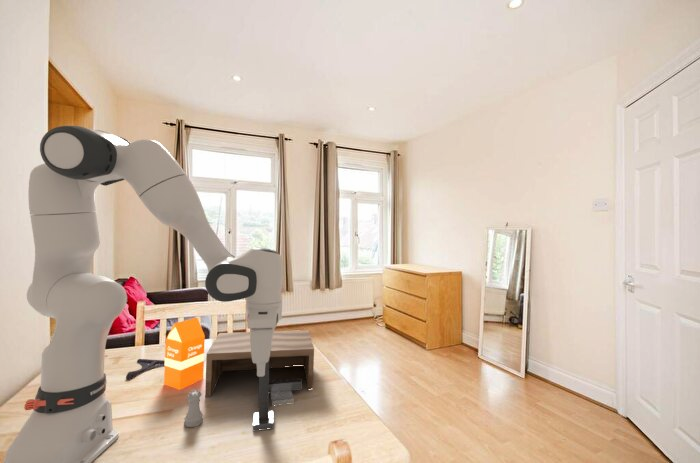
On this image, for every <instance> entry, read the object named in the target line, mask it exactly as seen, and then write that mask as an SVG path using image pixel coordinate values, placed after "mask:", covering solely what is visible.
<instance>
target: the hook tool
mask: <svg viewBox="0 0 700 463" xmlns="http://www.w3.org/2000/svg"><path fill="white" fill-rule="evenodd" d="M302 382H303V381H302V378H301V377H299V378H298V377H297V378H288V379H279V380H270V368H269V361H268V362H267V363H266V365H265V375H264V376H262V377H258V411H257V412H253V420H252V431H253V430H259V429H267V428H272V427H273V428H274V424H275V423H274V410H269V403H270V402H269V401H270V400H269V399H270V394H271V392H280V391H290V390H291V391H297V390H302V387H303V386H302V384H303V383H302ZM269 393H270V394H269Z"/></svg>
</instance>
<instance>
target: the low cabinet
mask: <svg viewBox="0 0 700 463" xmlns="http://www.w3.org/2000/svg"><path fill="white" fill-rule="evenodd" d="M314 358H315V347H314V344H313V340H312V336H311V334H310V330H308V329H305V330H304V329H303V330H278V331H277V330H274V332H273V338H272V345H271V352H270V357H269V369H272V368H271V367H284V368H286V367H285V366H293V365H304V366H303V368H304V367H305V369H304V373H306V375H305V380H306V379H307V380H306V385H308V386H307V390H308V389H311V388H313V389H314V366H315V365H314V364H315V359H314ZM205 364H206V365H205V390H204V392H205V393H204V397H205V398H211V397H212V395H213V393H214V391H215V387H216V385H217V383H218V380H219V378H220V376H221V373H222V372H225V371H226V372H227V371H228V372H229V371H243V370H244V371H246V370H248V371H249V370H257V365H256V363H253V362H252V357H251V343H250V331H246V332H245V331H244V332H243V331H242V332H219V333H218V334H217V336H216V338H215V339H214V341H213V343H211V346H210V347H209V349H208V351H207V352H206V363H205Z"/></svg>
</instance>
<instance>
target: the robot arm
mask: <svg viewBox="0 0 700 463" xmlns="http://www.w3.org/2000/svg"><path fill="white" fill-rule="evenodd" d="M39 152H40V157H41V159H42V160H43V162H44V163H41V164H39V165H37V166H35V167H33V169H32V170H31V171H30V174H29V180H28V210H29V215H30V217H29V218H30V223H31V231H32V234H33V235H32V236H33V243H34V264H33V265H34V266H33V271H32V272H33V273H32V282H31V283H30V285H28V288H27V291H26V300H27V302H28V304H29V306H30V307H31V308H32V309H34V310H35V312H37V313H39V314H40V315H42V316H44V317H47V318H51V319H55V328H54V331H53V335H52V337H51V339H50V341H49V344H48V345H47V346H46V347H45V348H44V349H43V351H42V353H41V366H40V367H41V372H40V385H39V387H38V389H37V392H36V394H35V397H34V398H32V399H31V398H30V399H27V401H25V404H24V407H23V408H24V410H25V411H32V412H31V414H30V415H29V416H28V419H27V420H26V421H25V422H24V424H23V426H22V427H21V428H20V429H19V432H18V433H17V435H16V436H15V437H14V439H13V440H12V442H11V444H10V445H9V447H8V448H7V449H6V452H5V454H4V460H3V463H92V462H93V461H94V460H96V458H98V457H99V456H100V455H101V454H102V453H103V452H104V451H106V450H107V449H108V448H109V447H110V446H111V445H112V444H113V443H115V441H117V440H118V439H119V437H120V436H119V432H118V430H115V429H114V428H113V427H114V426H113V412H112V411H113V410H112V402H111V401H110V400H109V399H108V397H107V396H106V394H105V392H106V389H107V375H106V373H105V361H106V360H105V359H106V358H105V356H106V355H105V354H106V345H107V340H108V336H109V332H110V330H111V328H112V325H113V323H114V321H115V320H116V319H117V318H118V317H119V316H120V315H121V314H122V313H123V311H124V310H125V308H126V305H127V302H128V294H127V292H126V289H125V287H124V286H123V285H122V284H120V283H119V282H117V281H115V280H113V279H111V278H110V277H107V276H104V275H99V274H93V272H92V264H93V259H94V255H95V253H96V252H97V250H98V249H99V247H100V245H101V244H100V243H101V241H100V240H101V239H100V234H99V233H100V232H99V231H100V230H99V226H98V225H99V224H98V218H97V217H98V215H97V212H96V211H97V210H96V205H95V204H96V202H95V191H96V189H97V188H98V187H99V185H102V186H106V187H107V186H108V185H109V186H110V185H112V184H113V185H114V184H115V183H118V182H122V181H126V182H127V183H128V184H129V185H130V186H131V187H132V189H133V190H134V193H136V195H137V196H138V198H139V199H140V200H141V202H142V204H143V205H144V207H146V209H147V210H148V211H149V212H150V213H151V214H152V215H153V216H154V217H155V218H156V219H157V220H158V221H159V222H160V223H162V224H164V225H165V226H167V227H170V228H171V229H173V230H175V231H176V232H179V234H180V235H182V236H183V237H184V238H185V239H187V241H188V242H189V243H190V244H191V245H192V247H193V249H194V250H195V252H196V253H197V254H198V256H199V257H200V258H201V259H202V261H203V263H204V264H205V265H206V268H207V272H208V273H207V274H206V277H205V282H204V285H205V286H204V287H205V290H206V292H207V294H208V295H209V296H210V297H211V298H212V299H214V300H215V301H218V302H225V303H226V302H233V301H234V302H235V301H238V300H243V299H246V300H245V316H244V317H245V321H246V323H247V324H246V326H247V329H249V332H250V343H251V357H252V362H253V363H256V365H257V369H256V376H257V377H258V378H259V377H262V376H264V375H265V365H266V363H267V362H268V361H269V357H270V352H271V345H272V338H273V332H274V331H275V329H276V328H277V325H278V323H279V321H281V319H282V315H283V296H282V288H283V284H284V264H283V263H284V262H283V258H282V256H281V254H280V253H279V252H278V251H276V250H273V249H269V248H266V247H259V246H253V247H251V248H250V249H248V250H247V251H245V252H243V253H241V254H239V255H237V256H234V255H233V254H231V253H230V252H229V251H228V250H227V248H226V246H225V245H224V243H223V242H221V240H220V238H219V237H218V236H217V234H216V232H215V231H214V229H213V228H212V226H211V225H210V223H209V221H208V218H207V216H206V213H205V210H204V207H203V205H202V202H201V200H200V197H199V194H198V193H197V190H196V188H195V186H194V184H193V183H192V181H191V180H190V178H189V176H188V175H187V173H186V172H185V170H184V169H183V168H182V166H181V165H180V164H179V162H178V161H177V159H175V157H174V156H173V155H172V154H171V153H170V152H169V151H168V149H166V148H165V147H164V146H163V145H162V143H160V142H158V141H156V140H152V139H145V138H144V139H139V140H138V139H137V140H135V141H131V142H130V141H129V140H128V139H126V138H124V137H121V136H118V135H115V134H113V133H109V132H107V131H103V130H100V129H99V130H98V129H91V128H87V127H83V126H80V125H61V126H56V127H54V128H52V129H50V130H48V131H47V132H46V133H44V135H43V136H42V139H41V141H40V144H39Z"/></svg>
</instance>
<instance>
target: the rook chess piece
mask: <svg viewBox="0 0 700 463" xmlns="http://www.w3.org/2000/svg"><path fill="white" fill-rule="evenodd" d="M201 396H202V393H201V390H199V389H193V390H190V391H189V393H188V394H187V396H186V397H187V399H188V401H187V403H188V409H187V413H186V415H185V417H184V418H183V419H184V422H183V425H184V426H185V427H186V428H195V427H198V426H199V425H201V424H202V423H203V421H204V419H203V418H204V415H203V413H202V410H201V408H200V407H201V406H200V402H201V399H200V398H201Z"/></svg>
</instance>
